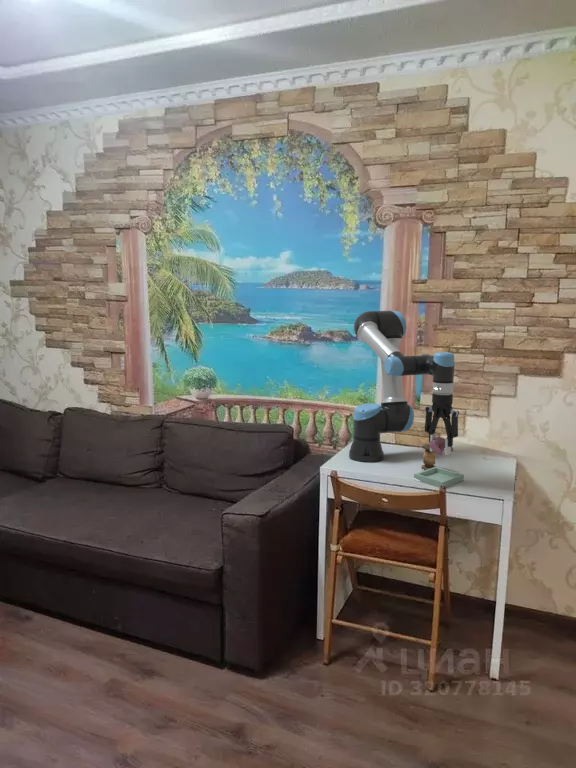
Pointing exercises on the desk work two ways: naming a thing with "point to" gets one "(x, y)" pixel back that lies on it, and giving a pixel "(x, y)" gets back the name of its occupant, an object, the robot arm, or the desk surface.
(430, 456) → the bobbin
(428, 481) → the green square tray
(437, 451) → the video game controller
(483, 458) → the desk surface
